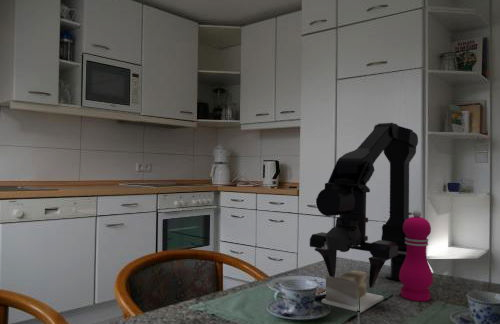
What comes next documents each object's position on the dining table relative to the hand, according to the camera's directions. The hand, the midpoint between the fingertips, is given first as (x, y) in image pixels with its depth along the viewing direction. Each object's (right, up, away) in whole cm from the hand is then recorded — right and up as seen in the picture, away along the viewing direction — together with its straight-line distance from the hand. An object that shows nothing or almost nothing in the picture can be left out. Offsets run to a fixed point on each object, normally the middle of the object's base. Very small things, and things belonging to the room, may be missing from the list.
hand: (351, 283), depth 91 cm
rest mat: (0, -4, 0) cm, 4 cm away
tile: (-7, -3, +6) cm, 10 cm away
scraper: (0, -3, 0) cm, 3 cm away
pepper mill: (+16, -4, +3) cm, 17 cm away
